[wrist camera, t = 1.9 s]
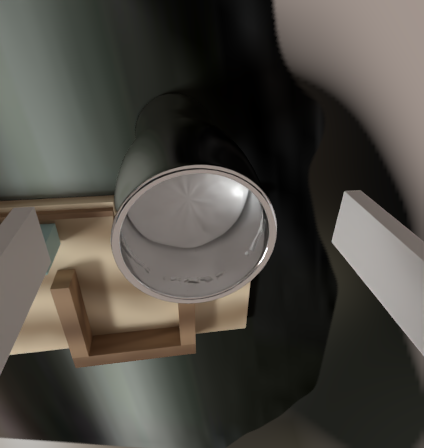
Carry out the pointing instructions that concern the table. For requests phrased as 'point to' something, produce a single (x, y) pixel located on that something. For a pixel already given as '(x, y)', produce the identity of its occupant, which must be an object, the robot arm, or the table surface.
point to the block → (51, 240)
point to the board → (108, 296)
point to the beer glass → (188, 207)
